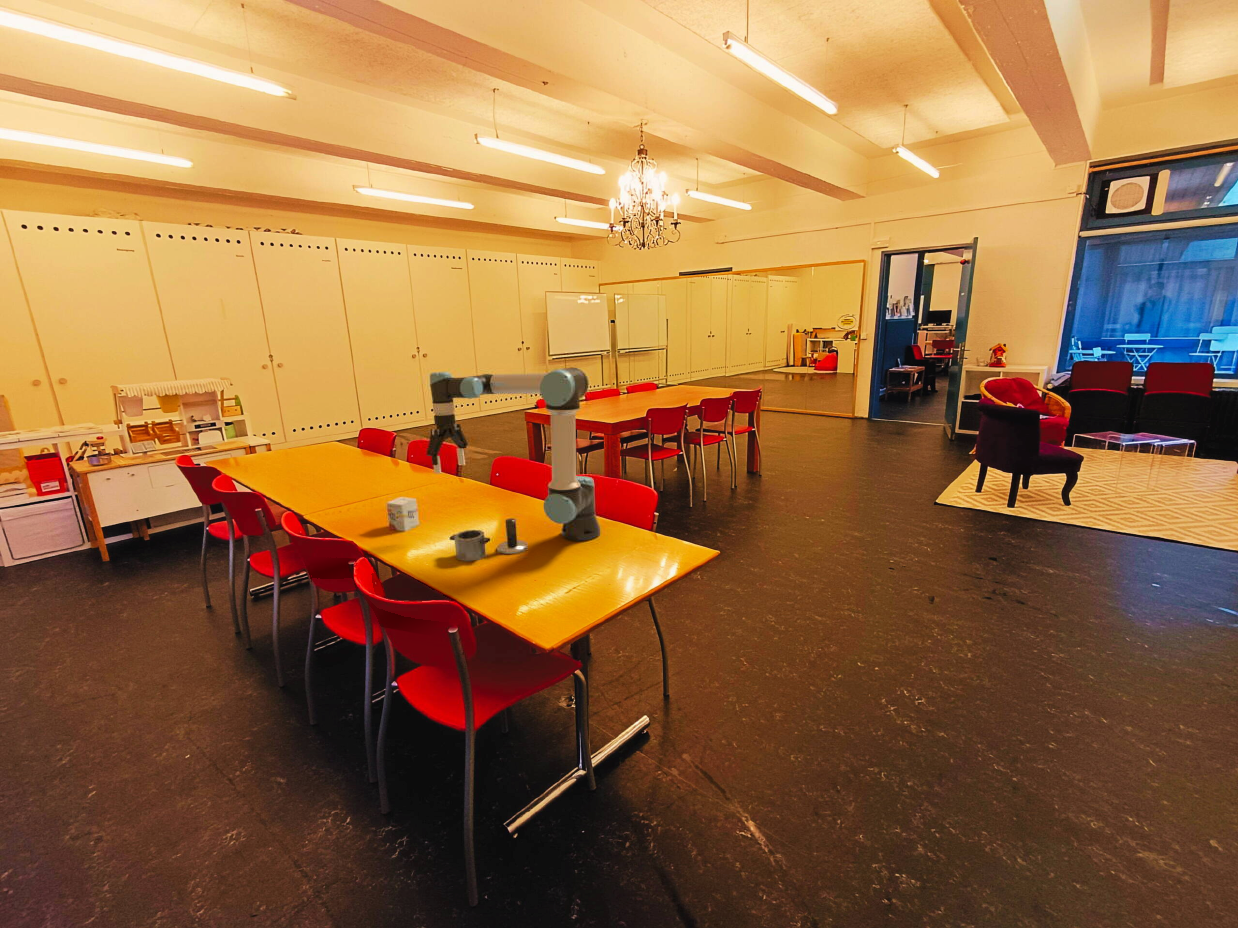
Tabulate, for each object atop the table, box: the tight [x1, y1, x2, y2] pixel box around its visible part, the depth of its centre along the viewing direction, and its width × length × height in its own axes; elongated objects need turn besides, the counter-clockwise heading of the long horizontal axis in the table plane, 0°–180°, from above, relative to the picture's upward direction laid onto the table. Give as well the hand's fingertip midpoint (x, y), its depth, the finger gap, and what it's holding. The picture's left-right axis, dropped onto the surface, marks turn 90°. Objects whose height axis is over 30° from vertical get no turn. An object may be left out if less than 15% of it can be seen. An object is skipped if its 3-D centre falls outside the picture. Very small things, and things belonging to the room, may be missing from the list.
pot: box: [449, 529, 491, 563], centre depth 191 cm, size 15×10×8 cm
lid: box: [496, 517, 529, 556], centre depth 197 cm, size 11×11×11 cm
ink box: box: [385, 496, 420, 532], centre depth 222 cm, size 9×9×12 cm
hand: (450, 468), depth 206 cm, fingers open, 13 cm apart
